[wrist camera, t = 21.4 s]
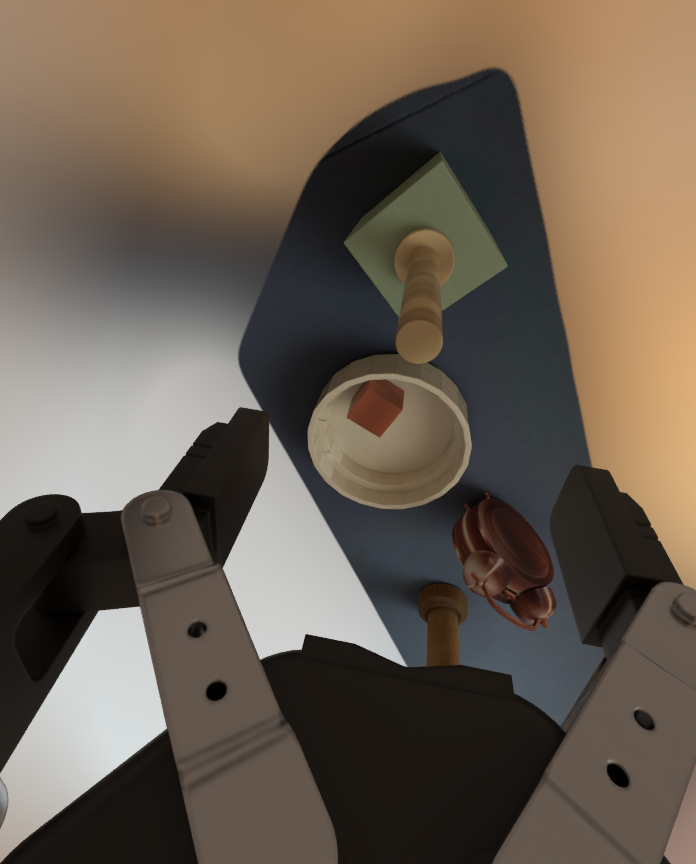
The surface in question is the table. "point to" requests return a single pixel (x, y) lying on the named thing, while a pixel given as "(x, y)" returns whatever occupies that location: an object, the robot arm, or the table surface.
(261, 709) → the robot arm
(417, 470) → the bowl
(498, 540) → the alarm clock
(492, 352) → the table surface
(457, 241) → the stand
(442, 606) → the mortar and pestle
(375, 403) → the block
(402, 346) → the stick
